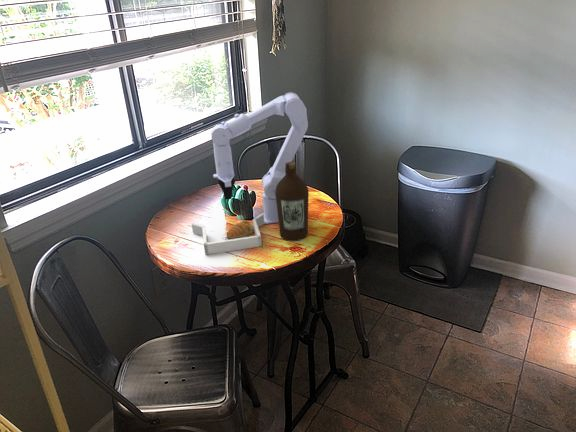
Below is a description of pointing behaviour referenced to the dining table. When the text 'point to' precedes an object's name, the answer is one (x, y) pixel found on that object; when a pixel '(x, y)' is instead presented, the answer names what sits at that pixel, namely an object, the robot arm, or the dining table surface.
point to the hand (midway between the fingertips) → (228, 198)
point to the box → (232, 243)
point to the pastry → (240, 230)
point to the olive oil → (292, 205)
